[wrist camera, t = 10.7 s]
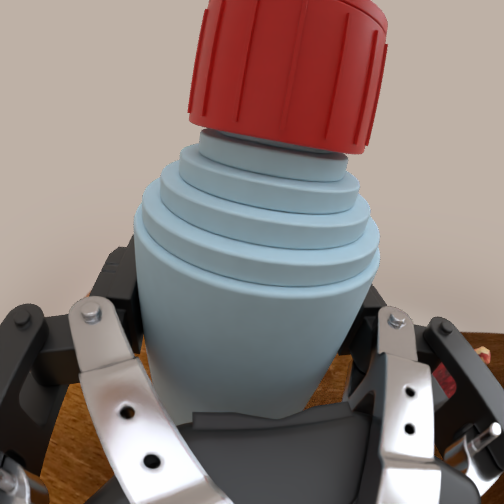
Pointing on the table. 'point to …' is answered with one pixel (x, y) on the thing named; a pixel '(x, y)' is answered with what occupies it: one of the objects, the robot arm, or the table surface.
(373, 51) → the cap
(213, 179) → the bottle
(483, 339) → the table surface
